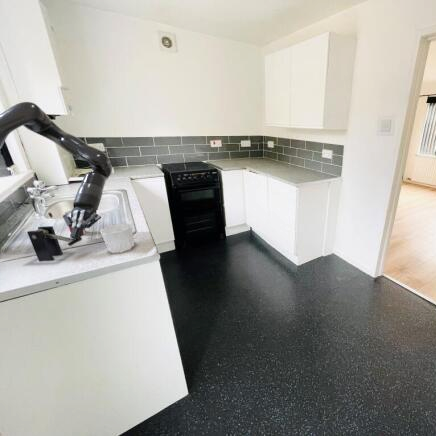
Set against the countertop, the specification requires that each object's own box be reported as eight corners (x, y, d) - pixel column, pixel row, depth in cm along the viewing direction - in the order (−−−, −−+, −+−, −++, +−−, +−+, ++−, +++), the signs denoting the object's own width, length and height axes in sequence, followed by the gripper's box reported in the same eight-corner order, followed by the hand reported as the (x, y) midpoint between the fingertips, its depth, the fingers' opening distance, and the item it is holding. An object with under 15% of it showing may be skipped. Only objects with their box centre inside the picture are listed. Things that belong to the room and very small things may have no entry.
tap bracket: (74, 254, 95) (63, 224, 91) (57, 265, 88) (44, 233, 83) (48, 255, 95) (35, 225, 90) (28, 266, 87) (13, 233, 83)
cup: (130, 255, 94) (123, 232, 91) (101, 258, 93) (94, 234, 89) (141, 244, 103) (135, 222, 100) (115, 246, 102) (109, 224, 98)
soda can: (70, 239, 109) (61, 213, 105) (74, 234, 114) (66, 210, 110) (84, 237, 111) (76, 212, 107) (88, 233, 116) (80, 209, 112)
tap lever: (81, 241, 92) (82, 236, 91) (71, 247, 87) (71, 241, 87) (43, 232, 90) (43, 227, 89) (31, 238, 85) (30, 232, 85)
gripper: (112, 201, 100) (100, 241, 93) (78, 202, 99) (64, 242, 92) (99, 191, 93) (85, 234, 86) (63, 192, 92) (46, 235, 85)
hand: (74, 238), depth 89 cm, fingers closed
